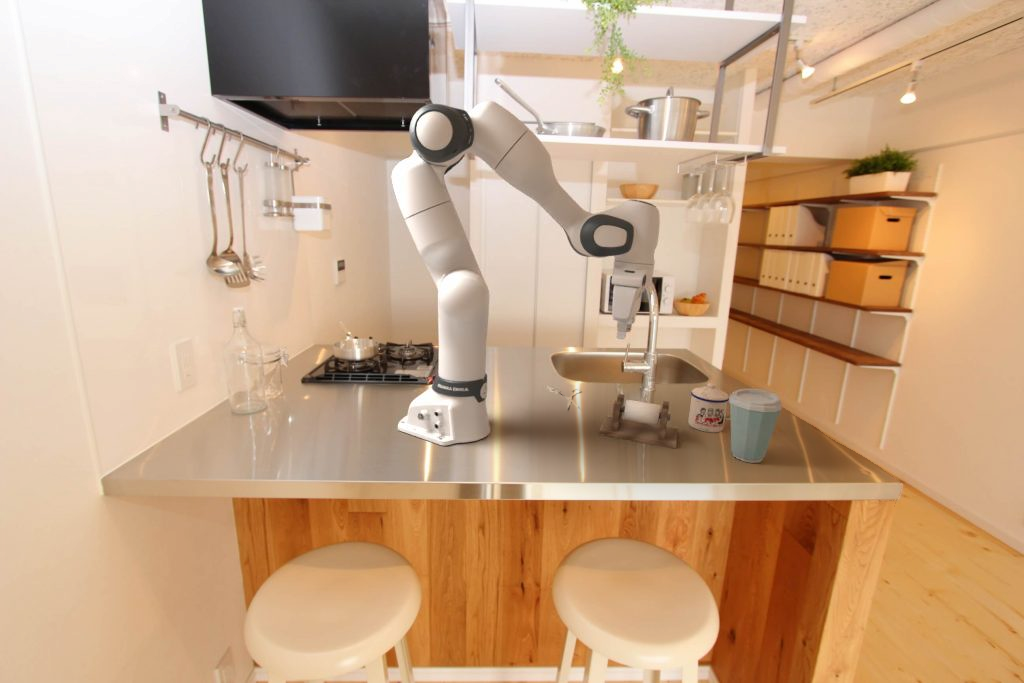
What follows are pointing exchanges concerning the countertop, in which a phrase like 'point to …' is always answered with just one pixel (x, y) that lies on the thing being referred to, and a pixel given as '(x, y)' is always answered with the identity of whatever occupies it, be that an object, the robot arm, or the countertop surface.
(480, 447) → the countertop surface
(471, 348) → the robot arm
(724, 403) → the teacup with lid
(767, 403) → the disposable coffee cup
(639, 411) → the paper roll
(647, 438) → the roll holder
